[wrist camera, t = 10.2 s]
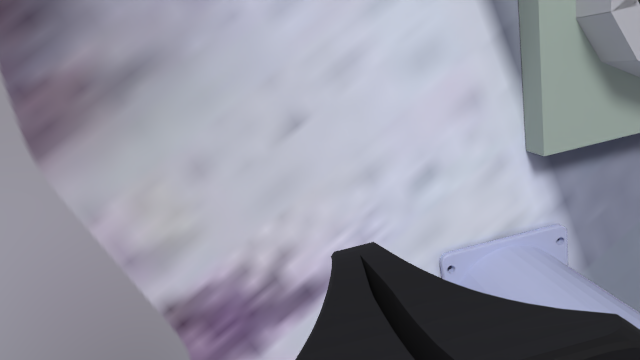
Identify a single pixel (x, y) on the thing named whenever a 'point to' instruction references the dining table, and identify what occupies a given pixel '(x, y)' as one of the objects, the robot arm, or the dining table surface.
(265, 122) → the dining table surface
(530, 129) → the mount board
